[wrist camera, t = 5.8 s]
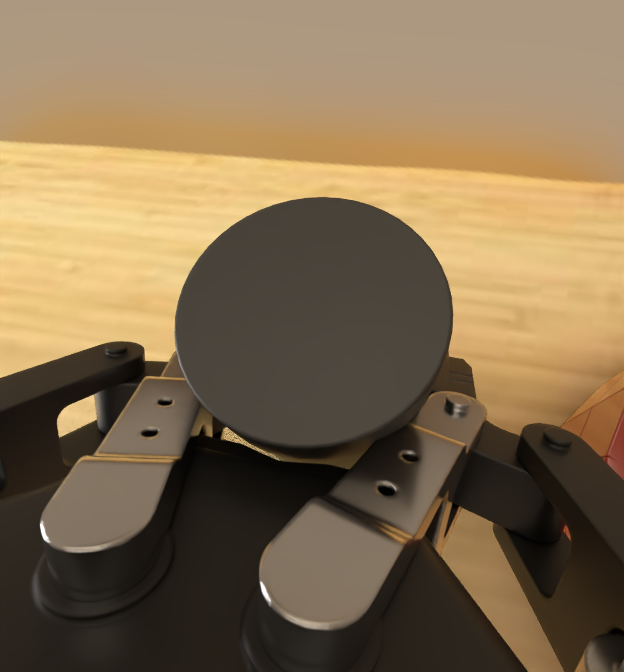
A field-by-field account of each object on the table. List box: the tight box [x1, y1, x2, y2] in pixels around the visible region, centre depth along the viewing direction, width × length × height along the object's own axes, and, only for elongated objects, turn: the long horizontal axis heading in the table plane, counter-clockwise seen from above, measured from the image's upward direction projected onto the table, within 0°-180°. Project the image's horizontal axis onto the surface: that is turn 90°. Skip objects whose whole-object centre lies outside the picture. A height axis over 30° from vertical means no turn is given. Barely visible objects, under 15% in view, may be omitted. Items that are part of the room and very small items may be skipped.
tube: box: [175, 197, 453, 469], centre depth 13 cm, size 5×5×12 cm
